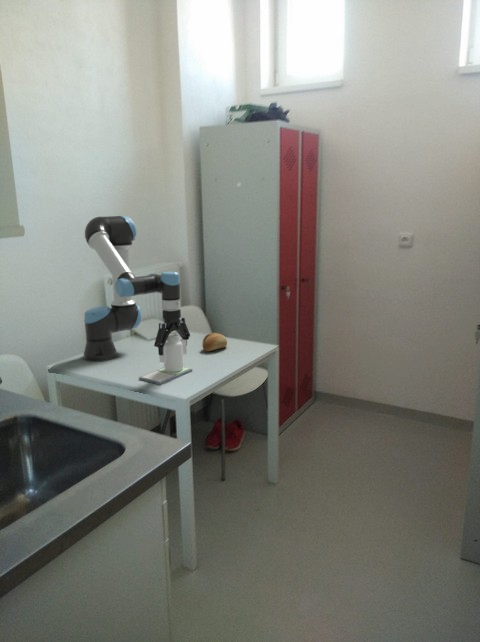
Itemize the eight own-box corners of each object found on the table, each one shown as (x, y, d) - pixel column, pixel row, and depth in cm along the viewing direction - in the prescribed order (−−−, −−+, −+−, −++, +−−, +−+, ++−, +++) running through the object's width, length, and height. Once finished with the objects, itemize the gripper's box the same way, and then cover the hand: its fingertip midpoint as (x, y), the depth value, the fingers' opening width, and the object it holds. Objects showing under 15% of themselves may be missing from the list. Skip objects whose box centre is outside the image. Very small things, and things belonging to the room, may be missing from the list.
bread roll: (197, 351, 247) (196, 335, 245) (216, 344, 259) (216, 329, 257) (211, 354, 241) (211, 338, 240) (231, 347, 253) (231, 332, 251)
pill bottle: (174, 365, 222) (173, 332, 219) (187, 368, 217) (186, 335, 214) (160, 369, 216) (159, 335, 213) (173, 373, 211) (172, 339, 208)
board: (138, 379, 208) (138, 376, 208) (171, 366, 225) (171, 363, 224) (160, 384, 202) (160, 382, 202) (192, 371, 218) (192, 368, 218)
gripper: (157, 315, 199) (160, 367, 204) (197, 304, 219) (198, 352, 224) (143, 313, 203) (146, 364, 208) (183, 303, 223) (185, 349, 228)
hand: (173, 358), depth 216 cm, fingers open, 13 cm apart
